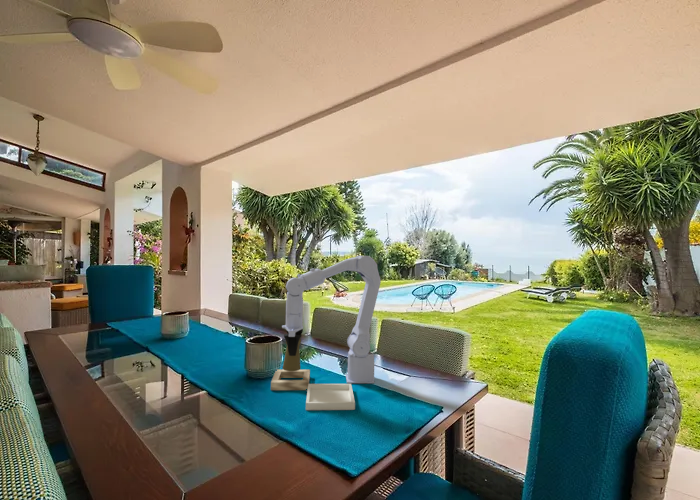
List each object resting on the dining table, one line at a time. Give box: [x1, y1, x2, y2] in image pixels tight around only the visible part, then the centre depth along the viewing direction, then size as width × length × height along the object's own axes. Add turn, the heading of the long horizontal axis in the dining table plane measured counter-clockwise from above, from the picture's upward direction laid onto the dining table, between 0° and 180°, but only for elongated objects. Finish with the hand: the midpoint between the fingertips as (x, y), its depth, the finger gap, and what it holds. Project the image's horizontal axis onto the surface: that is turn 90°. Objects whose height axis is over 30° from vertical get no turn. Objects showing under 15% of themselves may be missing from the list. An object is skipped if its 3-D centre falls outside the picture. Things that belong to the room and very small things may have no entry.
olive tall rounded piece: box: [282, 337, 302, 371], centre depth 115 cm, size 6×6×11 cm
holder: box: [270, 369, 311, 391], centre depth 115 cm, size 12×12×2 cm
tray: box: [305, 383, 356, 411], centre depth 103 cm, size 14×14×2 cm
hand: (293, 352), depth 115 cm, fingers closed on olive tall rounded piece, 5 cm apart
